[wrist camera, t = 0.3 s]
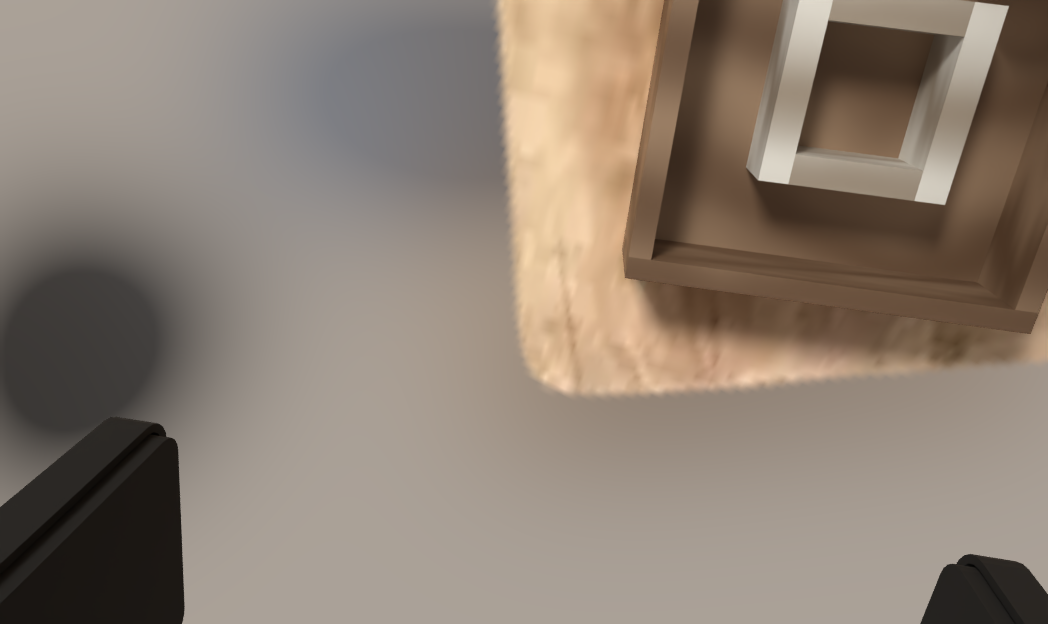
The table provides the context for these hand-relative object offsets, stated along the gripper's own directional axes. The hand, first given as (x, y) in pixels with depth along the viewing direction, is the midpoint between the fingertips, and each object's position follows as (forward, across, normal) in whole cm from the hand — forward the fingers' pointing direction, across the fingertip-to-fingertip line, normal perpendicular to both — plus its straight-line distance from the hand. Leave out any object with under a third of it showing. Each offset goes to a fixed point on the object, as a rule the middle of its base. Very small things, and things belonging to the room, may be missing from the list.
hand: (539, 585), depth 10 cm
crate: (+31, -12, -6) cm, 33 cm away
